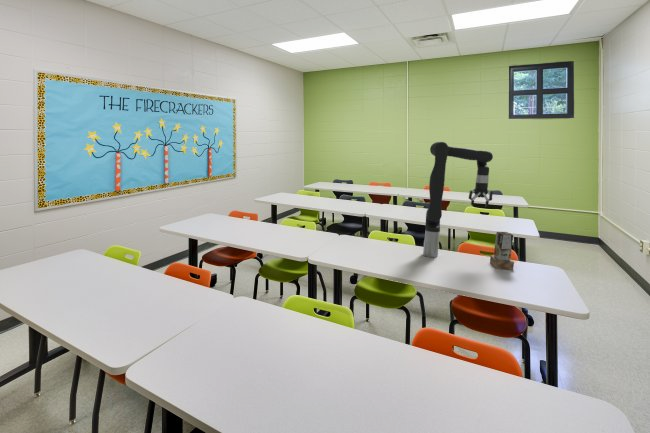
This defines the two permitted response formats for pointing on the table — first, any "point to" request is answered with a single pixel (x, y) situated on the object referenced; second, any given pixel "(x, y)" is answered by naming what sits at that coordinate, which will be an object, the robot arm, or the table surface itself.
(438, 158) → the robot arm
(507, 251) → the coffee box
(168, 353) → the table surface
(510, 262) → the walnut block
